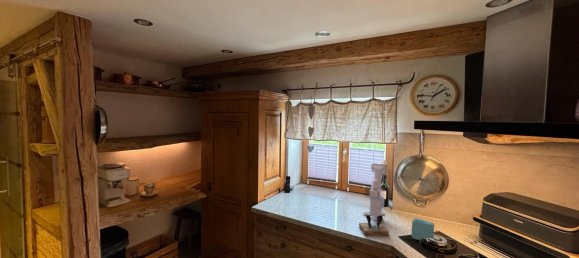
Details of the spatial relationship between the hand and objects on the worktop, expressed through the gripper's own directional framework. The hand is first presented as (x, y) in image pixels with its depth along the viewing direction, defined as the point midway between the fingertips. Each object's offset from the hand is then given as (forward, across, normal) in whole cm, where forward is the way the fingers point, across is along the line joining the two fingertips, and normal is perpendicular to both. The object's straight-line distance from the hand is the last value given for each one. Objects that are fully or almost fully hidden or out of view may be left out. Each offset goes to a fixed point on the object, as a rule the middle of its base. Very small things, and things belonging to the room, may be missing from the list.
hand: (373, 226), depth 158 cm
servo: (+4, 0, 0) cm, 4 cm away
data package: (+4, +28, -10) cm, 30 cm away
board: (+4, 0, 0) cm, 4 cm away
